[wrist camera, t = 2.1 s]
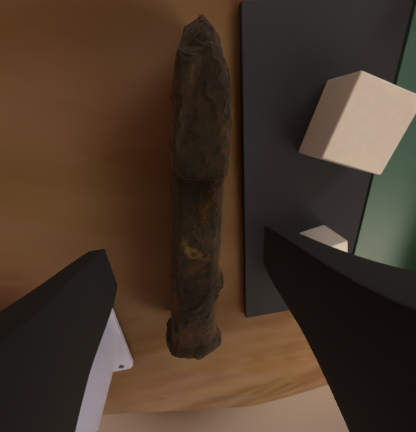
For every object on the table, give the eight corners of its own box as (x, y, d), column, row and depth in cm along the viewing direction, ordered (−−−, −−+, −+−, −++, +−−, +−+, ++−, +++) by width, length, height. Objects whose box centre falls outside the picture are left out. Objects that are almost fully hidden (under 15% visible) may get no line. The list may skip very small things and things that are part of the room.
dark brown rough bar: (213, 313, 18) (225, 370, 14) (167, 316, 18) (164, 377, 13) (248, 46, 11) (295, -4, 7) (170, 33, 10) (167, -30, 6)
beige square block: (280, 280, 17) (295, 303, 15) (272, 241, 15) (288, 260, 13) (326, 265, 17) (348, 285, 15) (324, 224, 15) (348, 240, 13)
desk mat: (244, 314, 19) (246, 318, 18) (238, 4, 10) (241, 0, 10) (337, 297, 20) (340, 300, 19) (407, -4, 11) (415, -8, 10)
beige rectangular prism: (297, 152, 13) (321, 158, 11) (327, 79, 12) (362, 69, 9) (349, 167, 14) (380, 175, 12) (382, 101, 12) (426, 97, 10)
